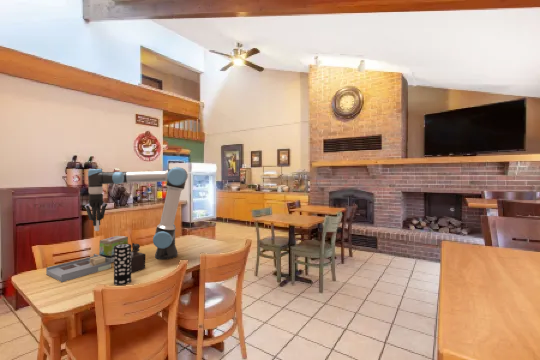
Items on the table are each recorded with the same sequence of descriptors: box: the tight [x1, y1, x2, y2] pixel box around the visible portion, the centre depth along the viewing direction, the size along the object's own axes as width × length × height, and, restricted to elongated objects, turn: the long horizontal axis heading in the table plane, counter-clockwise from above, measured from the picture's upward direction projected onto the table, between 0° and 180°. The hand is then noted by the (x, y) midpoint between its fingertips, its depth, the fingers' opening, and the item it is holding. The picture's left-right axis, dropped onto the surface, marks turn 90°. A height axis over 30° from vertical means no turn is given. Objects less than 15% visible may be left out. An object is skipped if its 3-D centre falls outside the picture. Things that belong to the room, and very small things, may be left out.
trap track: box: [45, 253, 112, 283], centre depth 161 cm, size 20×26×6 cm
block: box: [90, 256, 105, 266], centre depth 166 cm, size 6×6×4 cm
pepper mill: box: [131, 242, 146, 274], centre depth 164 cm, size 16×11×18 cm
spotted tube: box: [113, 243, 132, 286], centre depth 146 cm, size 8×8×20 cm
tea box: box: [98, 235, 129, 264], centre depth 183 cm, size 15×10×15 cm, turn 168°
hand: (96, 230), depth 169 cm, fingers closed
